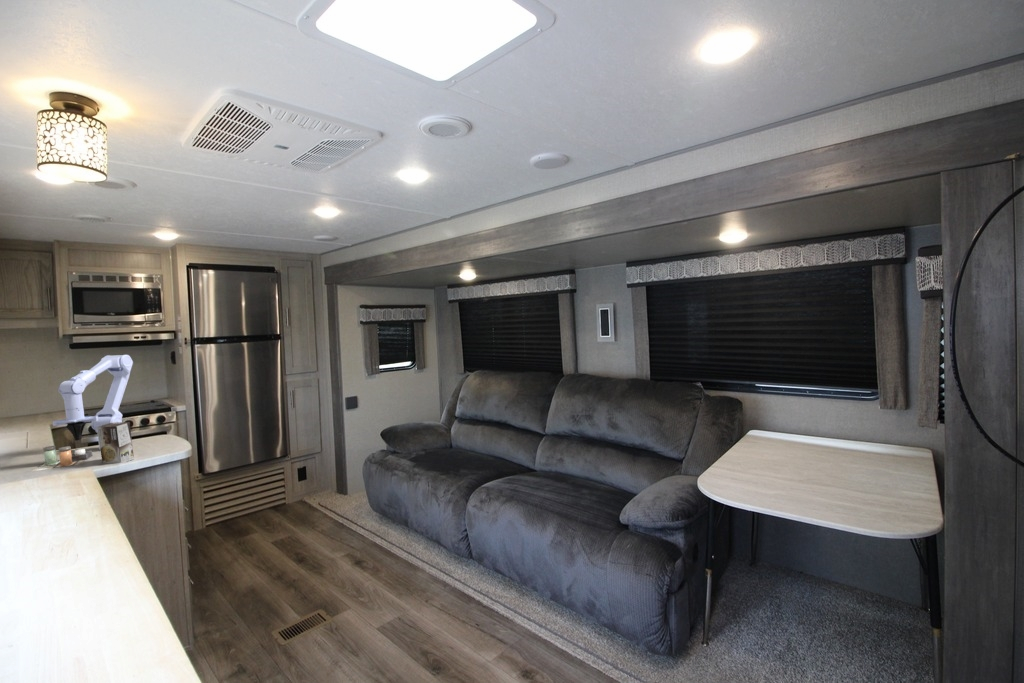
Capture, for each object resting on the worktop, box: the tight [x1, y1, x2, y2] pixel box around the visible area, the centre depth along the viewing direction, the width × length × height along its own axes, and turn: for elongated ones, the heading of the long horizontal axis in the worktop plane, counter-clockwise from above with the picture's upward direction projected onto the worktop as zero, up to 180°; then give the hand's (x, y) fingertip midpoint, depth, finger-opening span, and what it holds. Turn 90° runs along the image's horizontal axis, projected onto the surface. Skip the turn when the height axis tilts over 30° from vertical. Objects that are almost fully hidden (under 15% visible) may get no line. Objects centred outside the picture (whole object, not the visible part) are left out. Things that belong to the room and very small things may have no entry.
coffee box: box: [97, 421, 135, 464], centre depth 200 cm, size 9×6×16 cm
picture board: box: [31, 450, 93, 472], centre depth 199 cm, size 16×13×3 cm
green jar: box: [42, 445, 58, 465], centre depth 199 cm, size 4×4×7 cm
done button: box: [73, 448, 86, 455], centre depth 204 cm, size 3×3×3 cm
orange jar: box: [58, 445, 72, 466], centre depth 197 cm, size 4×4×7 cm
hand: (78, 439), depth 203 cm, fingers closed
